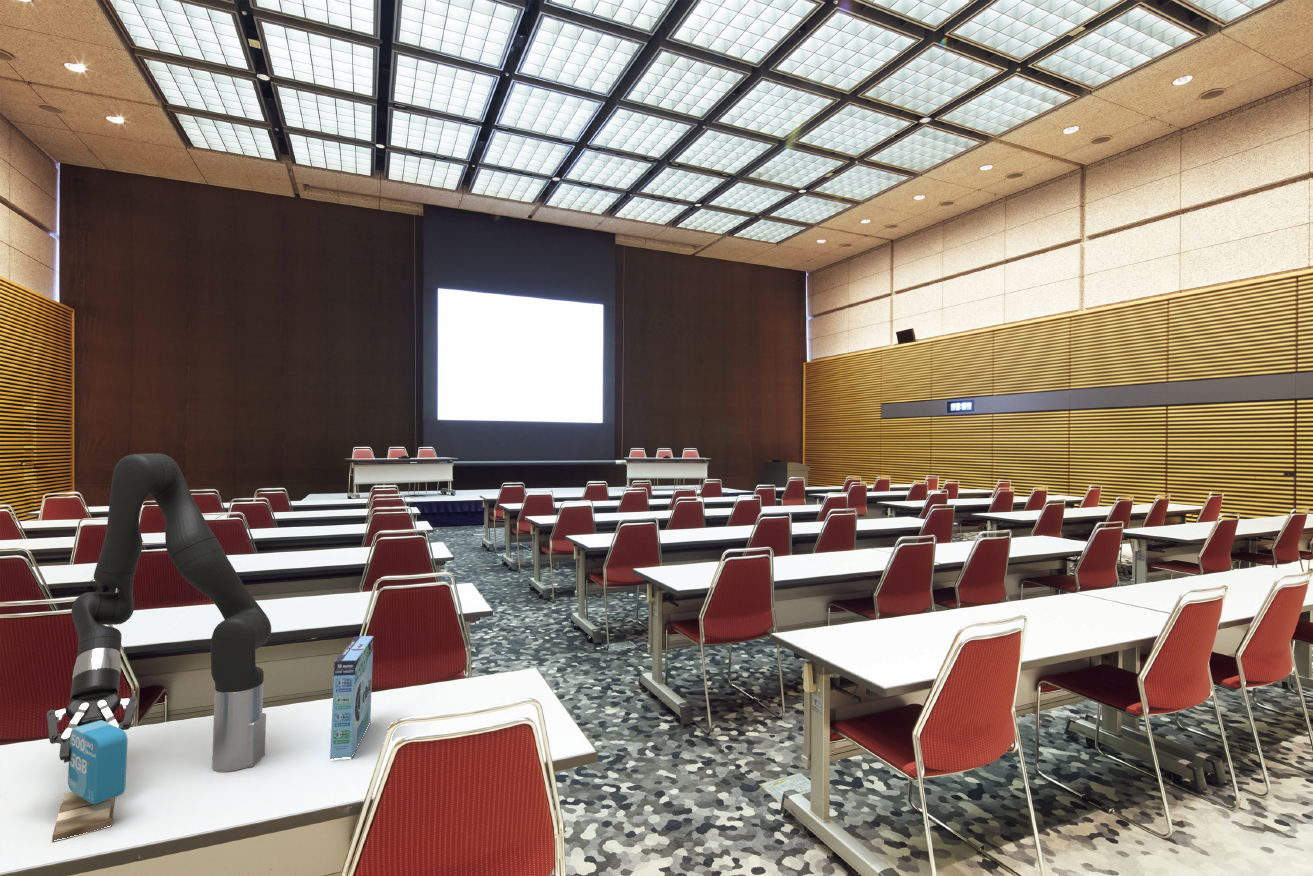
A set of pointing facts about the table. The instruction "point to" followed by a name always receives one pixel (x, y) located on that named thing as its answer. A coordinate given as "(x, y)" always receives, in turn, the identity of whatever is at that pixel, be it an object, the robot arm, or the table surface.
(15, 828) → the table surface
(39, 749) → the table surface
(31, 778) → the table surface
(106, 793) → the data package
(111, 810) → the display stand
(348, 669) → the blue product box
